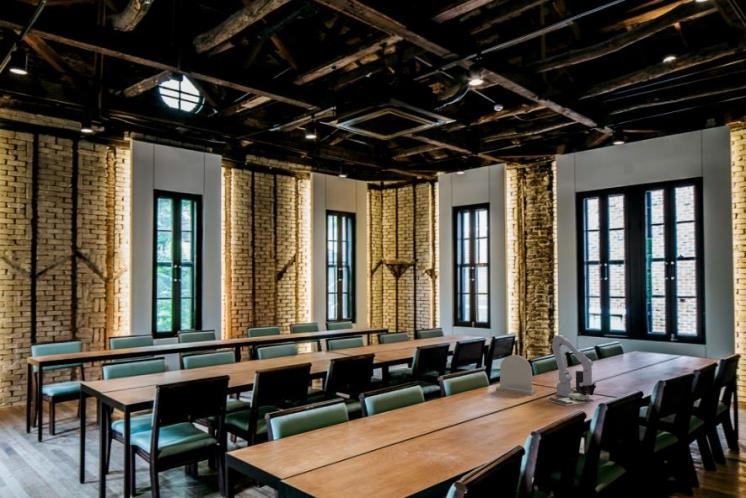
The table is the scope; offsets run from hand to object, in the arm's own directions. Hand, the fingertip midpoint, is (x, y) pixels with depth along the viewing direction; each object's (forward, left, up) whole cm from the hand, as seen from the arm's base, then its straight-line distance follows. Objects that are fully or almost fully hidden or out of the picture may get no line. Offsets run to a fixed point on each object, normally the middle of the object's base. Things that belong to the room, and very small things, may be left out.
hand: (587, 395), depth 370 cm
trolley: (0, -10, -2) cm, 10 cm away
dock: (0, -21, -2) cm, 21 cm away
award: (-40, -31, -3) cm, 51 cm away
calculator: (-20, +19, -3) cm, 28 cm away
